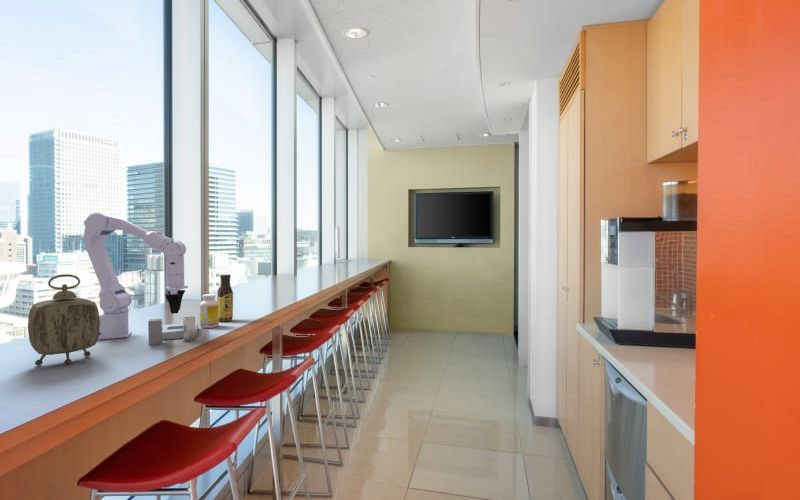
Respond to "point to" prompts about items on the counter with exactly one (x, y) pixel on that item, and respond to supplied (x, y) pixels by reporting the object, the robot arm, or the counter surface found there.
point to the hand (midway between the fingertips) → (175, 311)
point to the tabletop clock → (63, 323)
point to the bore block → (175, 331)
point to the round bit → (189, 329)
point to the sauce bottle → (225, 299)
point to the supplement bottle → (209, 311)
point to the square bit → (155, 331)
